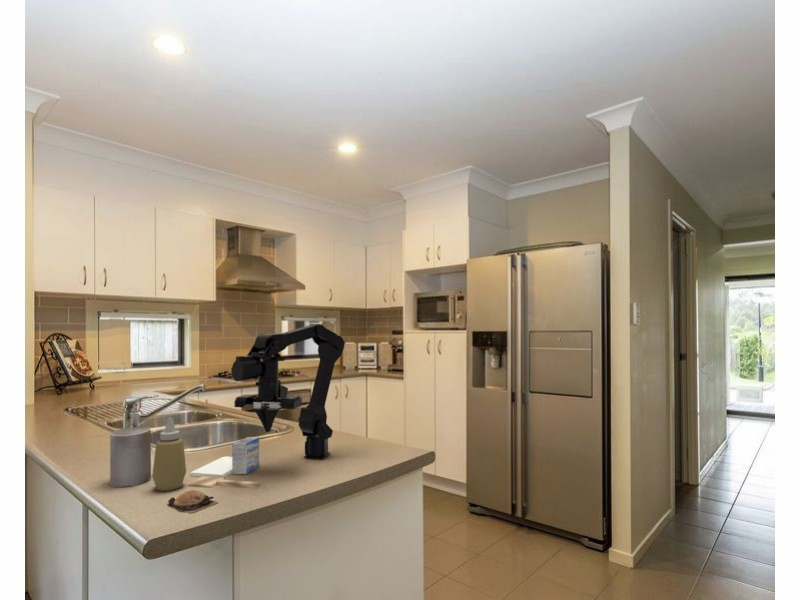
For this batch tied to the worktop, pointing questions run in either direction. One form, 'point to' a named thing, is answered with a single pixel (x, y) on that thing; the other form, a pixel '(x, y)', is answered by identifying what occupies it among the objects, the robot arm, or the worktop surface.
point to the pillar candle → (130, 456)
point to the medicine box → (245, 455)
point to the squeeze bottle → (169, 459)
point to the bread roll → (191, 502)
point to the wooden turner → (221, 483)
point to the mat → (215, 468)
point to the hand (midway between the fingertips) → (268, 431)
